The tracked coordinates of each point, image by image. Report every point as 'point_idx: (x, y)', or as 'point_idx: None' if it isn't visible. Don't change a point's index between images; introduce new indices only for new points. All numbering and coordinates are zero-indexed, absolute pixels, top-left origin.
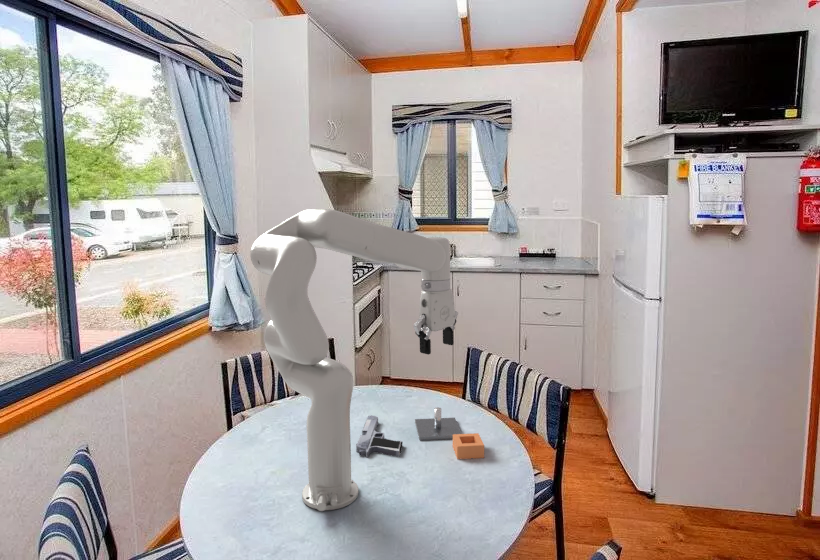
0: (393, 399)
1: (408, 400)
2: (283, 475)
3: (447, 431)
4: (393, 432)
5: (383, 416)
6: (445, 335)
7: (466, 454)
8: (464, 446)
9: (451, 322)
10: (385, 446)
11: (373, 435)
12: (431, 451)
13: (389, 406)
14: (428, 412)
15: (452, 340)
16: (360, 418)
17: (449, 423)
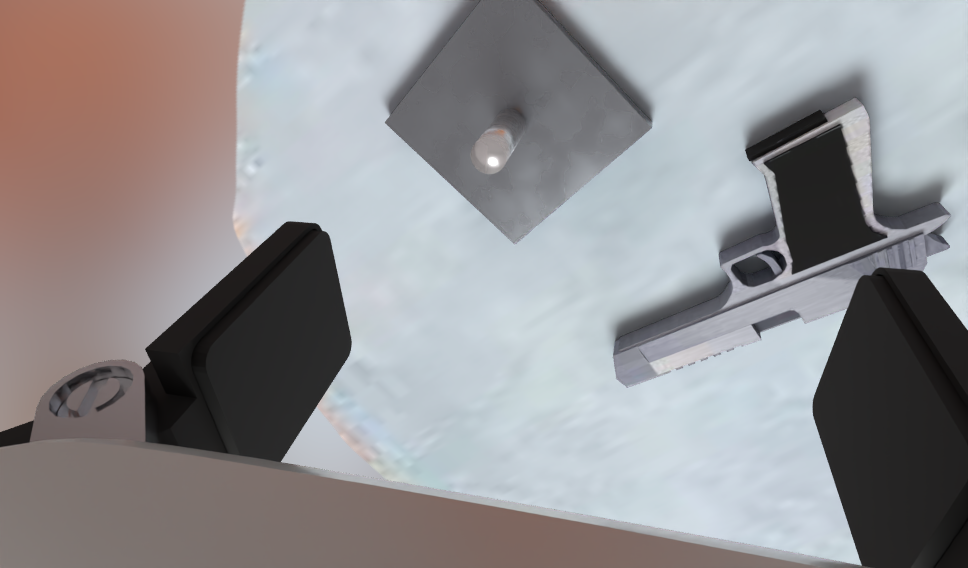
0: (421, 394)
1: (389, 354)
2: None
3: (519, 58)
4: (649, 253)
5: (555, 353)
6: (288, 395)
7: None
8: None
9: (68, 531)
10: (855, 182)
11: (771, 284)
12: (720, 2)
13: (474, 378)
14: (410, 247)
15: (277, 253)
16: (622, 403)
17: (446, 104)
